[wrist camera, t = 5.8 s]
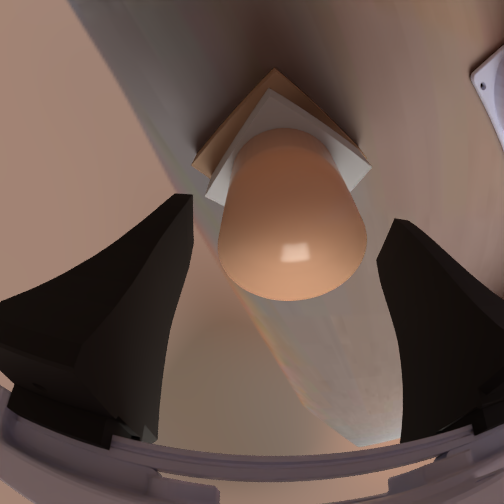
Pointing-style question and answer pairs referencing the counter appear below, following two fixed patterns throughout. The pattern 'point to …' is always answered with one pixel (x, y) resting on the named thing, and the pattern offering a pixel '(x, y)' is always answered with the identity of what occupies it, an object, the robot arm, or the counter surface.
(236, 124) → the slab lower
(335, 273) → the terracotta cylinder
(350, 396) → the counter surface
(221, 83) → the counter surface
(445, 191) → the counter surface
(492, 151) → the counter surface
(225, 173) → the slab upper
